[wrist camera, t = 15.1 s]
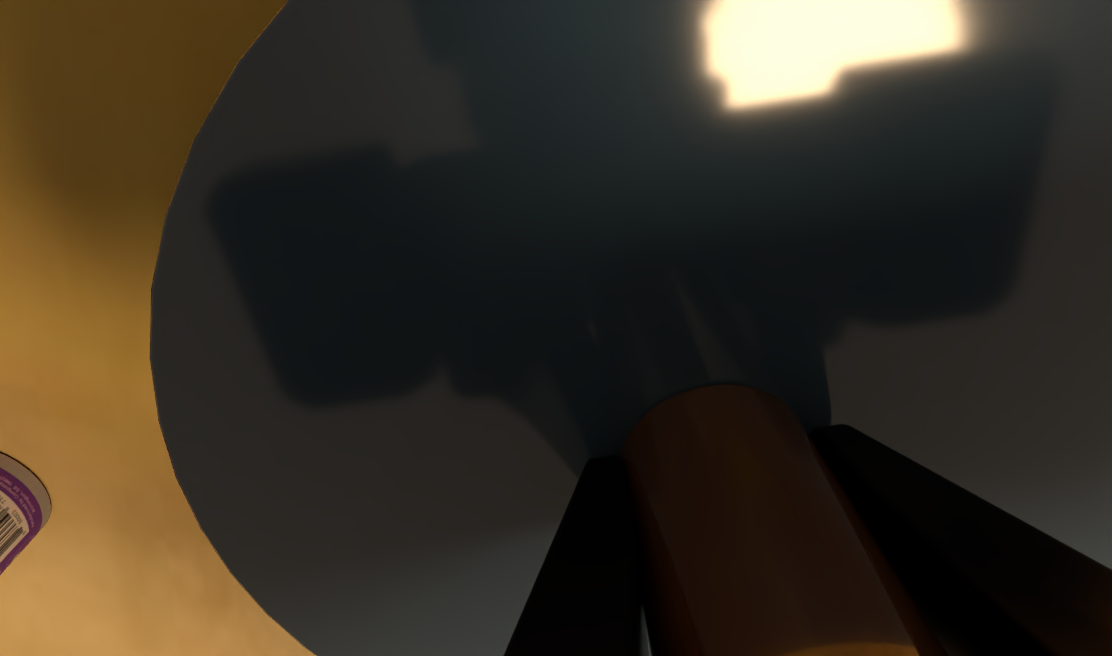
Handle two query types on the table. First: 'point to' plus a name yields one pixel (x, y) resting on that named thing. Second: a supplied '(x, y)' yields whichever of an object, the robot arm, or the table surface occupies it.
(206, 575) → the table surface
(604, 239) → the lid
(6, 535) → the container
